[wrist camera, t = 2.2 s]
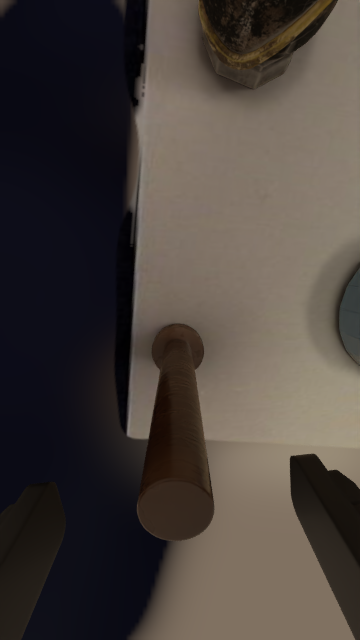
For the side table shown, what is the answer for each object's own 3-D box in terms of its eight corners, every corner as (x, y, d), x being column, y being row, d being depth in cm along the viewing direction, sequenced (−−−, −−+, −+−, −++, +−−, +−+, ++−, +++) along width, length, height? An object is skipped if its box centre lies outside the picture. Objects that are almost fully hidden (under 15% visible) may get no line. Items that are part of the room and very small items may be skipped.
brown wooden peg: (149, 326, 22) (90, 458, 7) (199, 320, 22) (242, 442, 7) (156, 373, 23) (117, 571, 8) (205, 367, 23) (251, 558, 8)
